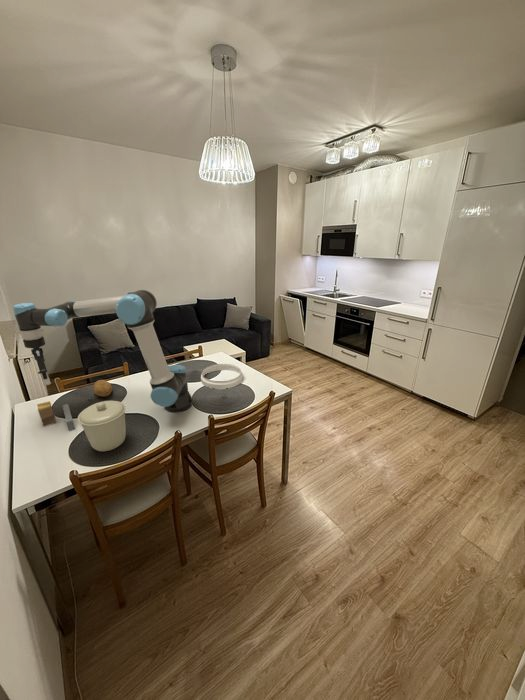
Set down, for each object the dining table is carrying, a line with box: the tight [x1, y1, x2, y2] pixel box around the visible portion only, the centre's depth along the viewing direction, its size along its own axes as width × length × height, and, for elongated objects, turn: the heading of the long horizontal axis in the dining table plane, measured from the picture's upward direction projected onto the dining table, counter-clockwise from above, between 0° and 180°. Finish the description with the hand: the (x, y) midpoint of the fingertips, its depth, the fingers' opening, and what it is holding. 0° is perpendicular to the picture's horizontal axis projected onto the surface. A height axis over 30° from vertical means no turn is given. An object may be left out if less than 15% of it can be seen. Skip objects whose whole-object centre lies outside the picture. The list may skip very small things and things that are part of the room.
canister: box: [77, 400, 127, 452], centre depth 122 cm, size 18×18×21 cm
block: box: [36, 401, 57, 427], centre depth 137 cm, size 5×5×10 cm
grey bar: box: [62, 403, 76, 432], centre depth 139 cm, size 18×2×5 cm, turn 39°
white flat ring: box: [200, 363, 243, 390], centre depth 183 cm, size 27×27×6 cm
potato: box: [93, 379, 113, 397], centre depth 162 cm, size 10×14×8 cm
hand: (45, 379), depth 135 cm, fingers open, 13 cm apart
